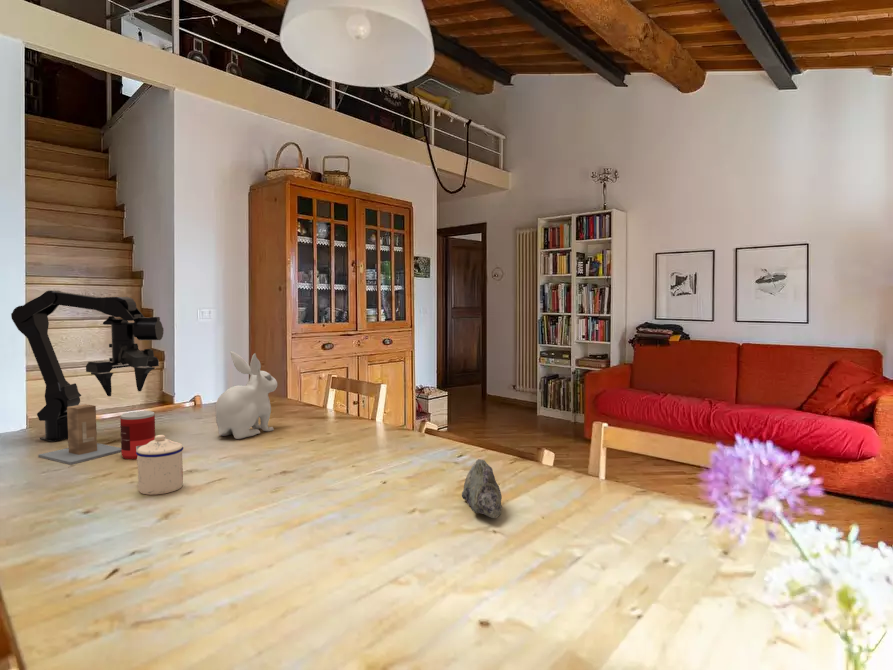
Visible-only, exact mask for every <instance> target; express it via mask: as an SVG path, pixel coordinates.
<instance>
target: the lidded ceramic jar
mask: <svg viewBox="0 0 893 670" xmlns="http://www.w3.org/2000/svg"><path fill="white" fill-rule="evenodd" d="M183 450H184V447H183V444H182V443H181V442H177V441H172V440H171V439H167V438H166V436H165V435H164V434H158V435H157V434H156V435H155V440H153V441H151V442H149V443H148V444H146V445H143V446H141V447H139V448H138V449H137V452H136V454H137V455H138V456H137V459H136V464H137V474H138V475H137V480H138V482H137V484H138V485H137V486H138V492H139V493H140V494H144V495H147V496H148V495H149V496H150V495H151V496H155V495H157V496H158V495H163V494H169V493H172V492H175V491H177V490H180V489H181V488H182V487H183V485H184V474H183V472H184V469H183V468H184V467H183Z"/></svg>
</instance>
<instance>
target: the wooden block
mask: <svg viewBox="0 0 893 670" xmlns="http://www.w3.org/2000/svg"><path fill="white" fill-rule="evenodd" d="M96 406H97V405H94V404H87V403H84V404H79V405H76V406H70V407H67V419H68V439H67V440H68V441H67V442H68V448H69V453H73V454H77V455H81V454H85V453H89V452H94V451H97V443H98V439H97V438H98V434H97V433H98V432H97V431H98V430H97V410H96Z"/></svg>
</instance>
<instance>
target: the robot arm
mask: <svg viewBox="0 0 893 670" xmlns="http://www.w3.org/2000/svg"><path fill="white" fill-rule="evenodd" d="M59 306H63V307H72V308H77V309H86V310H95V311H97V312H100V313H102V314H105V315H109V316H108V318H106V319H105V320H104V321H103V322H102V325H107V326H108V325H109V326H110V327H111V328H110V329H111V343H109V344H108V348H111V357H109V358H108V359H109V361H107V360H94V361H93V360H92V361H88V362H87V364H86V365H85V372H86V373H90V375H92V376H95V378H96V379H97V380H98V382H99V383H100V385H101V387H102V388H103V390H104V392H105V394H106V395H107V397H112V377H113V375H114V372H111V371H112V370H113V369H120V368H130V367H131V368H133V370H134V377H135V384H136V389H137V391H138V392H142V390H143V387H144V385H145V382H146V380H147V377H148V375H149V373H151V371H153V370H155V369H156V367H159V366H160V365H159V363H160V360H159V359H158V358H157V356H155V353H154V349H152V348H145V349H144V350H141V349H140V348H139V344H138V343H135V342H136V341H135V338H136V339H137V340H138V341H161V340H162V339H163V337H164V327H163V324H162V322H161V317H159V316H152V317H151V316H150V317H145V315H143V313H142V312H141V311H140V310H139V308H138V306H137V304H136V301H135V300H134V299H133V298H132V297H130V296H105V297H103V296H102V297H101V296H94V295H88V294H87V295H86V294H80V293H72V292H65V291H60V290H47V291H45V292H44V293H43V294H41V295H40V296H38V297H35V298H33V299H31V300H30V301H27V302H26V303H24V304H23V305H18V306H17V307H16V306H15V308H14V309H13V311H12V313H10V314H11V320H12V322H13V323H14V326H15V327H16V329H17V330H18V331H19V332H20V333H21V334H22V335H24V337H25V338H26V339H27V340H28V341H27V342H28V343H29V346H30V348H31V350H32V353H33V356H34V358H35V361H36V364H37V366H38V368H39V371H40V374H41V376H42V378H43V381H44V384H45V391H44V401H45V406H43V408H41V409H40V410H39V411H38V412H37V413H36V415H37V418H38V420H39V421H40V422H41V421H44V436H41V437H39V440H42V441H44V442H45V441H46V442H51V443H55V442H57V441H62V440H63V441H64V440H68V419H67V407H70V406H76V405H80V404H81V398H80V397H81V396H82V394H80V392H79V389H78V384H77V383H75V382H74V383H71V384H70V383H69V381H68V380H66V378H65V375H64V373H63V370H62V368H61V365H60V363H59V360H58V358H57V355H56V352H55V350H54V348H53V347H54V346H53V344H52V342H51V339H50V336H49V335H48V331H49V325H50V321H49V316H50V315H51V314H53V313H54V312H55V311H56V309H57V308H58V307H59ZM129 321H130V322H129ZM132 321H133V322H132Z"/></svg>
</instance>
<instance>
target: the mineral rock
mask: <svg viewBox="0 0 893 670" xmlns="http://www.w3.org/2000/svg"><path fill="white" fill-rule="evenodd" d="M495 477H496V476H495V474H494V470H493V468H492V467H491V466H490V465H489V464H488V463H487V461H486V460H485V459H481V458H478V459H477V460H476V461H475V462H474V464H473V465H472V466H471V467H470V469H469V471H468V472H467V475H466V478H465V480H464V484H463V491H462V492H461V498H462V499H463V500H464V501H466V502H467V505H469V506H470V507H471V511H472V512H474V513H475V514H483V515H485V516H486V517H489V518H490V519H491V518H492V519H496V518H498V517H499V516H500V515H501V514H502V510H503V505H502V499H503V497H502V496H503V495H502V492H501V489H500V486H499V484H498V483H497V480H496V478H495Z"/></svg>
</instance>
